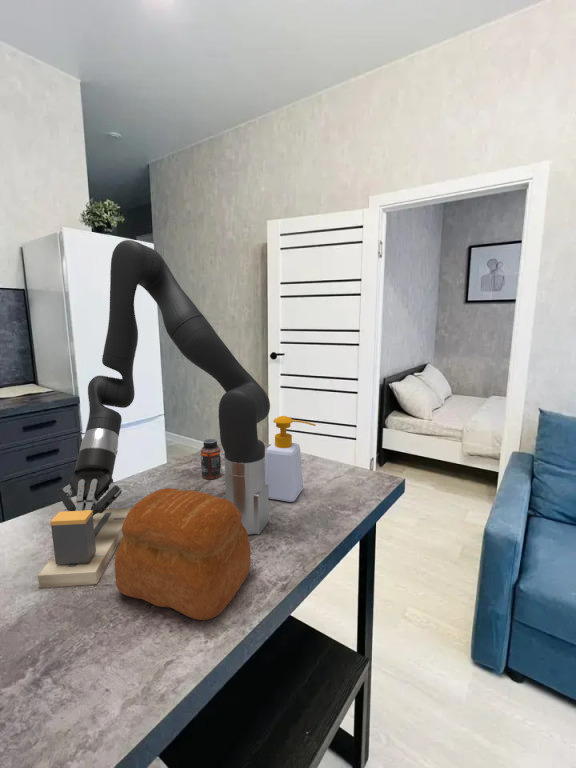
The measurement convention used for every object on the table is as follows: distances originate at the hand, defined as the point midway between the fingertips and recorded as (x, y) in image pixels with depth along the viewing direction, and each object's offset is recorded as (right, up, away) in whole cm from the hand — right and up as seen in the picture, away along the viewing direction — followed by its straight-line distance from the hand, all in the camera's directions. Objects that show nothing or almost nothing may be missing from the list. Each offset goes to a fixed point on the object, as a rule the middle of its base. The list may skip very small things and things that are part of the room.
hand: (80, 534), depth 77 cm
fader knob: (0, -4, -2) cm, 4 cm away
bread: (+22, -8, -4) cm, 24 cm away
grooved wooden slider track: (-1, -5, +6) cm, 8 cm away
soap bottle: (+42, -1, +31) cm, 52 cm away
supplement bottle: (+17, +1, +43) cm, 47 cm away
